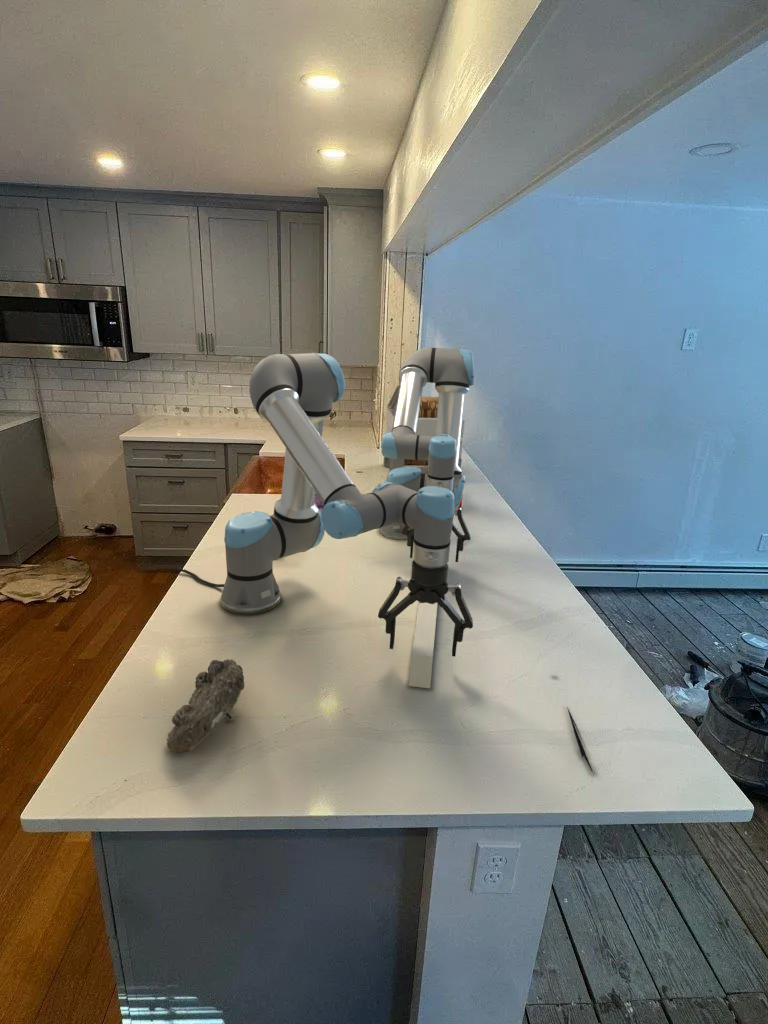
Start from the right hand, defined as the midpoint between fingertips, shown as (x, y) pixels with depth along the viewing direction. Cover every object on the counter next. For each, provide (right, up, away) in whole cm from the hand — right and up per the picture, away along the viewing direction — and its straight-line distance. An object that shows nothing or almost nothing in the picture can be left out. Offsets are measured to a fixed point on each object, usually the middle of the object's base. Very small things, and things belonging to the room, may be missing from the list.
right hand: (433, 558), depth 170 cm
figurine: (-41, +14, +49) cm, 65 cm away
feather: (+22, -27, -58) cm, 68 cm away
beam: (-3, -13, -21) cm, 25 cm away
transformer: (+2, +33, +105) cm, 110 cm away
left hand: (-7, -16, -46) cm, 49 cm away
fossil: (-48, -25, -62) cm, 82 cm away
